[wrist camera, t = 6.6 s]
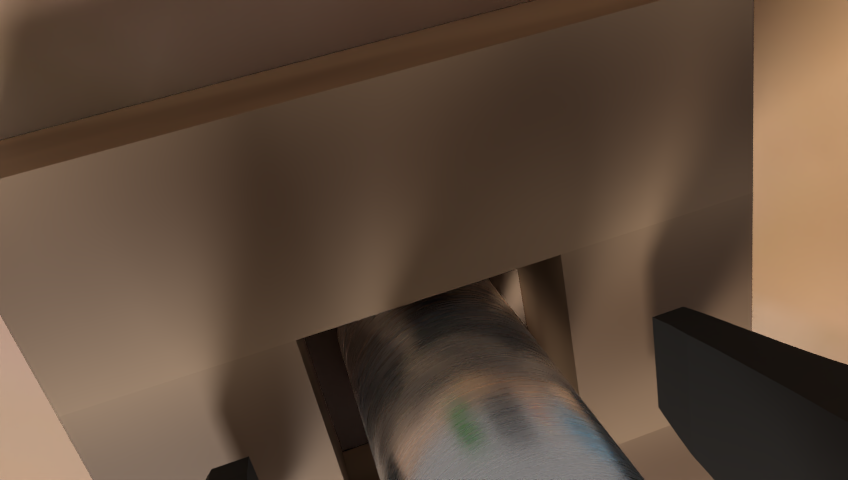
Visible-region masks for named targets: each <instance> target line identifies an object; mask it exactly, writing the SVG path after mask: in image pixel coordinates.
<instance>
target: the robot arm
mask: <svg viewBox="0 0 848 480" xmlns="http://www.w3.org/2000/svg"><path fill="white" fill-rule="evenodd" d="M652 321H653V335H654V350H655V364H656V379H657V393H658V408H659V409H660V410H661V412H662V413H663V415H664V416H665V418H666V419H667V421H668V422H669V424H670V425H671V427H672V428H673V429H674V431H675V432H676V434H677V435H678V437H679V438H680V439H681V441H682V442H683V443H684V445H685V446H686V448H687V449H688V450H689V452H690V453H691V454H692V456H693V457H694V458H695V459H696V460H697V461H698V462H699V463H700V465H701V466H702V467H703V468H704V469H705V470H706V471H707V472H708V473H709V474H710V476H711V477H712V478H713V479H714V480H848V365H847V364H843V363H840V362H837V361H834V360H831V359H828V358H825V357H822V356H819V355H816V354H813V353H810V352H807V351H804V350H802V349H799V348H796V347H793V346H790V345H788V344H785V343H782V342H779V341H777V340H774V339H771V338H769V337H766V336H763V335H760V334H758V333H755V332H753V331H750V330H747V329H745V328H742V327H739V326H737V325H734V324H731V323H729V322H726V321H723V320H721V319H718V318H715V317H713V316H710V315H707V314H704V313H702V312H699V311H696V310H693V309H690V308H687V307H680V308H677V309H675V310H672V311H669V312H666V313H663V314H660V315H657V316H654V317H652ZM206 480H259V479H258V477H257V474H256V472H255V470H254V467H253V465H252V463H251V460H250V458H249V456H248V457H245V458H242V459H239V460H237V461H234V462H231V463H228V464H225V465H222V466H219V467H216V468H213V469H211V471H210V472H209V474H208V476H207V478H206Z"/></svg>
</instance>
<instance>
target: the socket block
mask: <svg viewBox="0 0 848 480" xmlns="http://www.w3.org/2000/svg"><path fill="white" fill-rule="evenodd" d="M753 53H754V0H534V1H530V2H526V3H522V4H519V5H515V6H511V7H507V8H503V9H499V10H496V11H492V12H488V13H484V14H480V15H477V16H473V17H469V18H465V19H461V20H458V21H454V22H450V23H446V24H442V25H438V26H435V27H431V28H427V29H423V30H419V31H416V32H412V33H408V34H404V35H400V36H397V37H393V38H389V39H385V40H381V41H378V42H374V43H370V44H366V45H362V46H358V47H355V48H351V49H347V50H343V51H339V52H336V53H332V54H328V55H324V56H320V57H317V58H313V59H309V60H305V61H301V62H297V63H294V64H290V65H286V66H282V67H278V68H275V69H271V70H267V71H263V72H259V73H256V74H252V75H248V76H244V77H240V78H236V79H233V80H229V81H225V82H221V83H217V84H214V85H210V86H206V87H202V88H198V89H195V90H191V91H187V92H183V93H179V94H175V95H172V96H168V97H164V98H160V99H156V100H153V101H149V102H145V103H141V104H137V105H134V106H130V107H126V108H122V109H118V110H114V111H111V112H107V113H103V114H99V115H95V116H92V117H88V118H84V119H80V120H76V121H73V122H69V123H65V124H61V125H57V126H54V127H50V128H46V129H42V130H38V131H34V132H31V133H27V134H23V135H19V136H15V137H12V138H8V139H4V140H0V315H1V317H2V319H3V321H4V322H5V324H6V326H7V328H8V329H9V331H10V333H11V335H12V337H13V338H14V340H15V342H16V344H17V346H18V347H19V349H20V351H21V353H22V354H23V356H24V358H25V360H26V362H27V363H28V365H29V367H30V369H31V371H32V372H33V374H34V376H35V378H36V379H37V381H38V383H39V385H40V387H41V388H42V390H43V392H44V394H45V396H46V397H47V399H48V401H49V403H50V404H51V406H52V408H53V410H54V412H55V413H56V415H57V417H58V419H59V420H60V422H61V424H62V426H63V428H64V429H65V431H66V433H67V435H68V437H69V438H70V440H71V442H72V444H73V445H74V447H75V449H76V451H77V453H78V454H79V456H80V458H81V460H82V462H83V463H84V465H85V467H86V469H87V470H88V472H89V474H90V476H91V478H92V479H93V480H206V478H207V476H208V474H209V472H210V471H211V469H213V468H216V467H219V466H222V465H225V464H228V463H231V462H234V461H237V460H239V459H242V458H245V457H248V456H249V458H250V460H251V463H252V465H253V467H254V470H255V472H256V474H257V477H258V479H259V480H380V478H379V475H378V472H377V468H376V465H375V462H374V458H373V455H372V452H371V449H370V445H369V443H367V444H365V445H362V446H359V447H356V448H353V449H350V450H348V451H345V452H342V449H341V446H340V443H339V440H338V437H337V434H336V431H335V428H334V425H333V422H332V419H331V416H330V413H329V410H328V408H327V405H326V402H325V399H324V396H323V393H322V390H321V387H320V384H319V381H318V378H317V375H316V372H315V369H314V366H313V363H312V360H311V357H310V354H309V351H308V348H307V345H306V342H305V339H304V337H307V336H311V335H314V334H317V333H320V332H323V331H326V330H329V329H332V328H335V327H338V326H342V325H345V324H348V323H351V322H354V321H357V320H360V319H363V318H366V317H369V316H373V315H376V314H379V313H382V312H385V311H388V310H391V309H394V308H397V307H400V306H403V305H407V304H410V303H413V302H416V301H419V300H422V299H425V298H428V297H431V296H434V295H438V294H441V293H444V292H447V291H450V290H453V289H456V288H459V287H462V286H465V285H468V284H472V283H475V282H478V281H481V280H484V279H487V278H490V277H493V276H496V275H499V274H503V273H506V272H509V271H512V270H515V269H518V275H519V282H520V288H521V294H522V300H523V306H524V312H525V318H526V324H527V329H528V331H529V332H530V333H531V335H532V336H533V337H534V338H535V340H536V341H537V342H538V344H539V345H540V346H541V347H542V349H543V350H544V351H545V353H546V354H547V355H548V356H549V358H550V359H551V360H552V361H553V363H554V364H555V365H556V367H557V368H558V369H559V370H560V372H561V373H562V374H563V376H564V377H565V378H566V379H567V381H568V382H569V383H570V385H571V386H572V387H573V388H574V390H575V391H576V392H577V394H578V395H579V396H580V397H581V399H582V400H583V401H584V403H585V404H586V405H587V406H588V408H589V409H590V410H591V411H592V413H593V414H594V415H595V417H596V418H597V419H598V420H599V422H600V423H601V424H602V426H603V427H604V428H605V429H606V431H607V432H608V433H609V435H610V436H611V437H612V438H613V440H614V441H615V442H616V444H617V445H618V446H619V447H620V449H621V450H622V451H623V453H624V454H625V455H626V456H627V458H628V459H629V460H630V461H631V463H632V464H633V465H634V467H635V468H636V469H637V470H638V472H639V473H640V474H641V476H642V477H643V478H644V479H645V480H714V479H713V478H712V477H711V476H710V474H709V473H708V472H707V471H706V470H705V469H704V468H703V467H702V466H701V465H700V463H699V462H698V461H697V460H696V459H695V458H694V457H693V456H692V454H691V453H690V452H689V450H688V449H687V448H686V446H685V445H684V443H683V442H682V441H681V439H680V438H679V437H678V435H677V434H676V432H675V431H674V429H673V428H672V427H671V425H670V424H669V422H668V421H667V419H666V418H665V416H664V415H663V413H662V412H661V410H660V409H659V408H658V393H657V379H656V364H655V350H654V335H653V321H652V317H654V316H657V315H660V314H663V313H666V312H669V311H672V310H675V309H677V308H680V307H687V308H690V309H693V310H696V311H699V312H702V313H704V314H707V315H710V316H713V317H715V318H718V319H721V320H723V321H726V322H729V323H731V324H734V325H737V326H739V327H742V328H745V329H747V330H750V331H752V211H753Z"/></svg>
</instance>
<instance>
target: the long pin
mask: <svg viewBox="0 0 848 480" xmlns="http://www.w3.org/2000/svg"><path fill="white" fill-rule="evenodd" d="M338 341H339V346H340V350H341V353H342V356H343V360H344V363H345V366H346V370H347V373H348V376H349V379H350V383H351V386H352V389H353V393H354V396H355V399H356V402H357V406H358V409H359V412H360V416H361V419H362V422H363V426H364V429H365V432H366V435H367V439H368V442H369V445H370V449H371V452H372V455H373V458H374V462H375V465H376V468H377V472H378V475H379V478H380V480H645V479H644V478H643V477H642V476H641V474H640V473H639V472H638V470H637V469H636V468H635V467H634V465H633V464H632V463H631V461H630V460H629V459H628V458H627V456H626V455H625V454H624V453H623V451H622V450H621V449H620V447H619V446H618V445H617V444H616V442H615V441H614V440H613V438H612V437H611V436H610V435H609V433H608V432H607V431H606V429H605V428H604V427H603V426H602V424H601V423H600V422H599V420H598V419H597V418H596V417H595V415H594V414H593V413H592V411H591V410H590V409H589V408H588V406H587V405H586V404H585V403H584V401H583V400H582V399H581V397H580V396H579V395H578V394H577V392H576V391H575V390H574V388H573V387H572V386H571V385H570V383H569V382H568V381H567V379H566V378H565V377H564V376H563V374H562V373H561V372H560V370H559V369H558V368H557V367H556V365H555V364H554V363H553V361H552V360H551V359H550V358H549V356H548V355H547V354H546V353H545V351H544V350H543V349H542V347H541V346H540V345H539V344H538V342H537V341H536V340H535V338H534V337H533V336H532V335H531V333H530V332H529V331H528V329H527V328H526V327H525V326H524V324H523V323H522V322H521V320H520V319H519V318H518V317H517V315H516V314H515V313H514V311H513V310H512V309H511V308H510V306H509V305H508V304H507V303H506V301H505V300H504V299H503V297H502V296H501V295H500V294H499V292H498V291H497V290H496V288H495V287H494V286H493V285H492V283H491V282H490V281H489V279H488V278H487V279H484V280H481V281H478V282H475V283H472V284H468V285H465V286H462V287H459V288H456V289H453V290H450V291H447V292H444V293H441V294H438V295H434V296H431V297H428V298H425V299H422V300H419V301H416V302H413V303H410V304H407V305H403V306H400V307H397V308H394V309H391V310H388V311H385V312H382V313H379V314H376V315H373V316H369V317H366V318H363V319H360V320H357V321H354V322H351V323H348V324H345V325H342V326H338Z"/></svg>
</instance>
